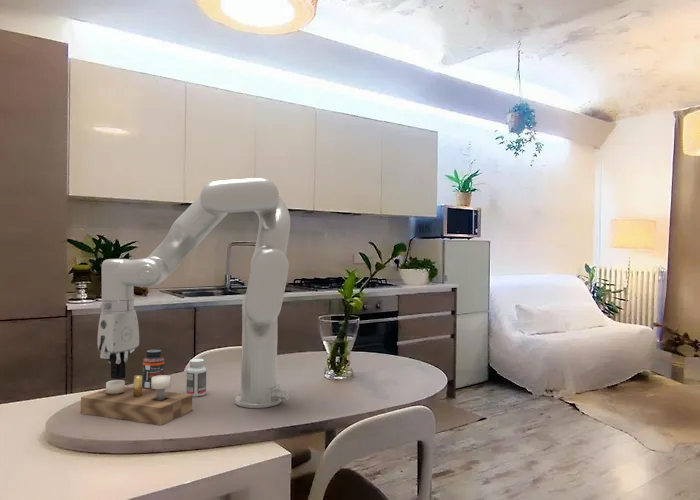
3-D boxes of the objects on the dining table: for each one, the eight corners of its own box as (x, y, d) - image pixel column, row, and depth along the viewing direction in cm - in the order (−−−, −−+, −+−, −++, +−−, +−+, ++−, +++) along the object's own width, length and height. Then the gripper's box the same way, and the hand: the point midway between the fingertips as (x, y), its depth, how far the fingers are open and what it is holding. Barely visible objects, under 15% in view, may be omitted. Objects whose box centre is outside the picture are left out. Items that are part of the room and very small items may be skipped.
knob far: (128, 404, 132) (128, 380, 132) (115, 409, 128) (116, 384, 128) (114, 402, 133) (115, 379, 133) (101, 407, 129) (102, 383, 129)
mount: (192, 410, 130) (192, 394, 130) (160, 425, 119) (161, 408, 119) (116, 400, 138) (117, 385, 138) (80, 413, 126) (81, 397, 126)
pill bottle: (205, 391, 148) (205, 357, 149) (206, 396, 143) (207, 361, 143) (185, 392, 147) (186, 358, 147) (186, 397, 142) (187, 362, 142)
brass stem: (143, 395, 129) (143, 375, 129) (137, 397, 127) (138, 377, 127) (137, 394, 130) (137, 374, 130) (131, 396, 128) (131, 376, 128)
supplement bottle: (149, 392, 146) (149, 353, 146) (137, 389, 149) (138, 350, 149) (167, 388, 150) (168, 350, 150) (156, 385, 154) (157, 347, 154)
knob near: (173, 400, 127) (174, 376, 127) (161, 405, 123) (162, 380, 123) (159, 398, 129) (159, 374, 129) (147, 403, 125) (147, 378, 125)
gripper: (107, 310, 122) (107, 386, 122) (149, 304, 137) (150, 372, 137) (82, 309, 125) (83, 384, 125) (127, 303, 139) (127, 370, 139)
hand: (118, 377), depth 131 cm, fingers closed
